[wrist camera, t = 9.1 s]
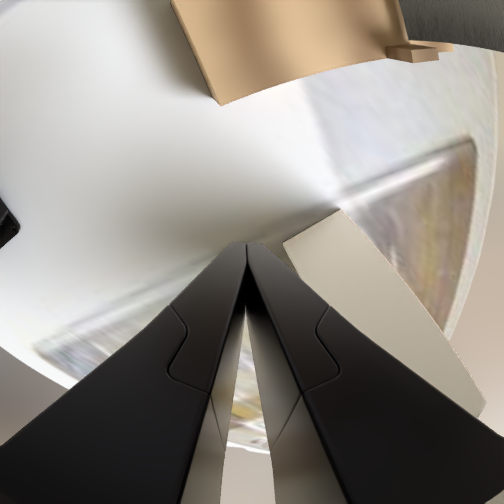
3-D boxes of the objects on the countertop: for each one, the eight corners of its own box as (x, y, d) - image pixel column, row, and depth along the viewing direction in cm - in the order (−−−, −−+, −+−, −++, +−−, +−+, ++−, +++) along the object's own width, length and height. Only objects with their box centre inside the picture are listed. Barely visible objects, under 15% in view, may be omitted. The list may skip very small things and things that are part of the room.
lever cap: (408, 40, 12) (551, 66, 6) (390, -26, 8) (542, -3, 3) (410, 37, 12) (543, 61, 6) (393, -23, 9) (533, -3, 3)
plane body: (213, 98, 16) (229, 114, 12) (170, 3, 11) (169, -20, 7) (426, 46, 15) (477, 57, 11) (407, -29, 10) (458, -31, 6)
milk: (304, 281, 28) (406, 494, 12) (280, 241, 24) (409, 511, 8) (356, 250, 27) (481, 448, 11) (342, 206, 23) (509, 445, 7)
